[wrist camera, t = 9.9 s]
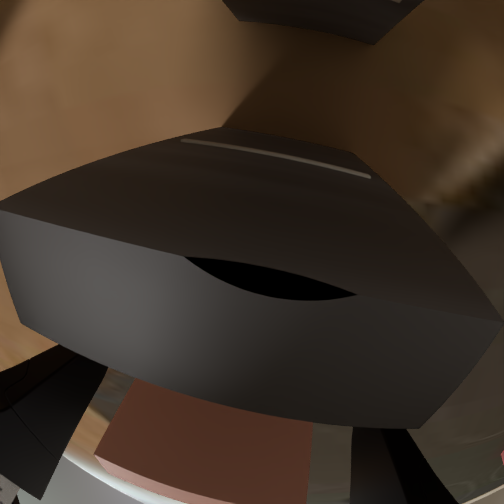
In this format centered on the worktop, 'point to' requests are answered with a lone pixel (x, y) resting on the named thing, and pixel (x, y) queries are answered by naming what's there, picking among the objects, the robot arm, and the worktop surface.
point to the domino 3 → (205, 450)
